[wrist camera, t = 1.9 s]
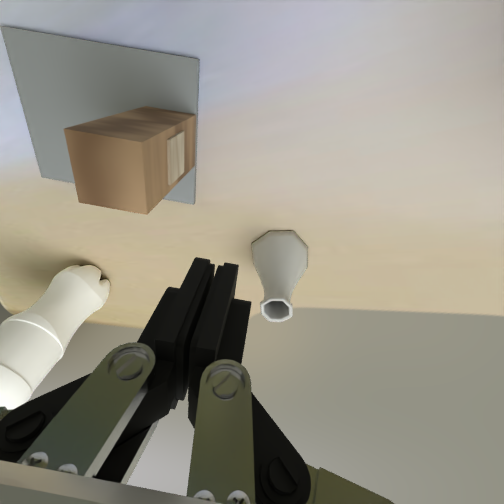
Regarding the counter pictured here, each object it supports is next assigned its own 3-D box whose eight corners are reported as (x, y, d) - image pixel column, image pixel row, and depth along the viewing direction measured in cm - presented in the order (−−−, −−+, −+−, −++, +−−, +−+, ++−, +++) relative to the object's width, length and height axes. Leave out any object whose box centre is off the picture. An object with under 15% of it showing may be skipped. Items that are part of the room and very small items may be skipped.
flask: (263, 282, 39) (256, 342, 31) (242, 239, 36) (226, 292, 27) (316, 269, 37) (323, 328, 28) (298, 221, 33) (300, 272, 25)
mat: (199, 59, 26) (197, 59, 25) (195, 202, 34) (193, 204, 33) (5, 26, 26) (0, 25, 26) (45, 175, 34) (41, 177, 33)
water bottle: (125, 290, 43) (-34, 505, 22) (89, 301, 45) (-87, 505, 24) (94, 252, 39) (-129, 462, 19) (57, 265, 42) (-179, 467, 21)
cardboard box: (198, 115, 28) (145, 142, 18) (196, 166, 31) (149, 215, 21) (145, 105, 28) (63, 128, 18) (148, 157, 31) (79, 202, 21)
